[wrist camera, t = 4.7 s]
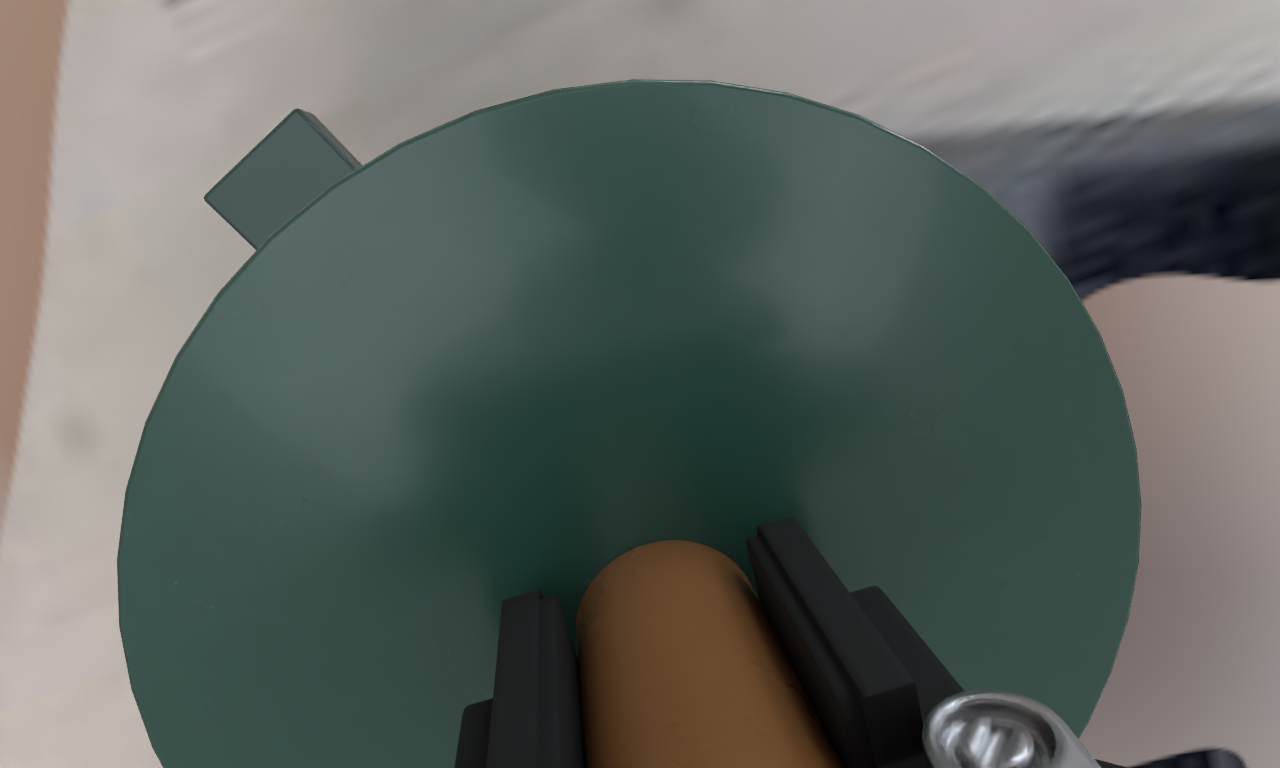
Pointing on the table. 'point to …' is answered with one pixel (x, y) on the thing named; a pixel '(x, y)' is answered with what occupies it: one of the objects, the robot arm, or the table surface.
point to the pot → (280, 177)
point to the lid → (621, 439)
